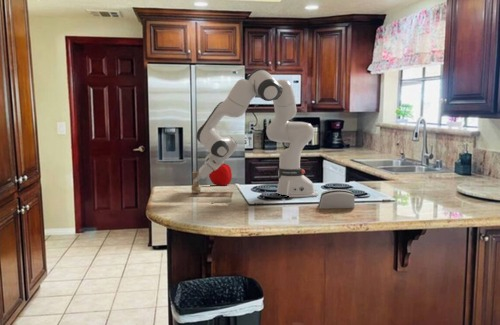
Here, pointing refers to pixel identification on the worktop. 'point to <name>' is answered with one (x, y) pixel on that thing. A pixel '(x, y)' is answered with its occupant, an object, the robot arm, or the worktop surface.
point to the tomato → (221, 175)
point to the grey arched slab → (336, 199)
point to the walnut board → (211, 194)
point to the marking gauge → (195, 183)
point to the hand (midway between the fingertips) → (194, 180)
